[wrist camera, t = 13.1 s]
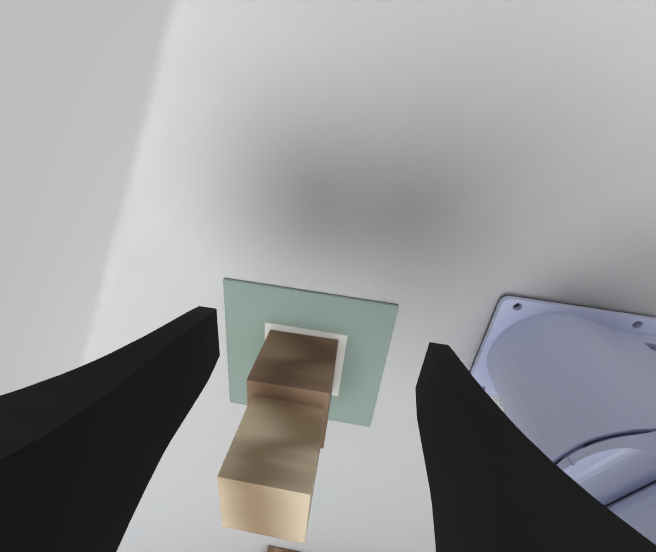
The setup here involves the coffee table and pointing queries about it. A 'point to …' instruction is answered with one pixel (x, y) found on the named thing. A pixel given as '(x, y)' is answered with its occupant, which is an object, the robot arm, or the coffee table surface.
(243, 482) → the maple block
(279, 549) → the box
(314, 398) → the walnut block
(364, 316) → the build mat
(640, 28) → the coffee table surface
